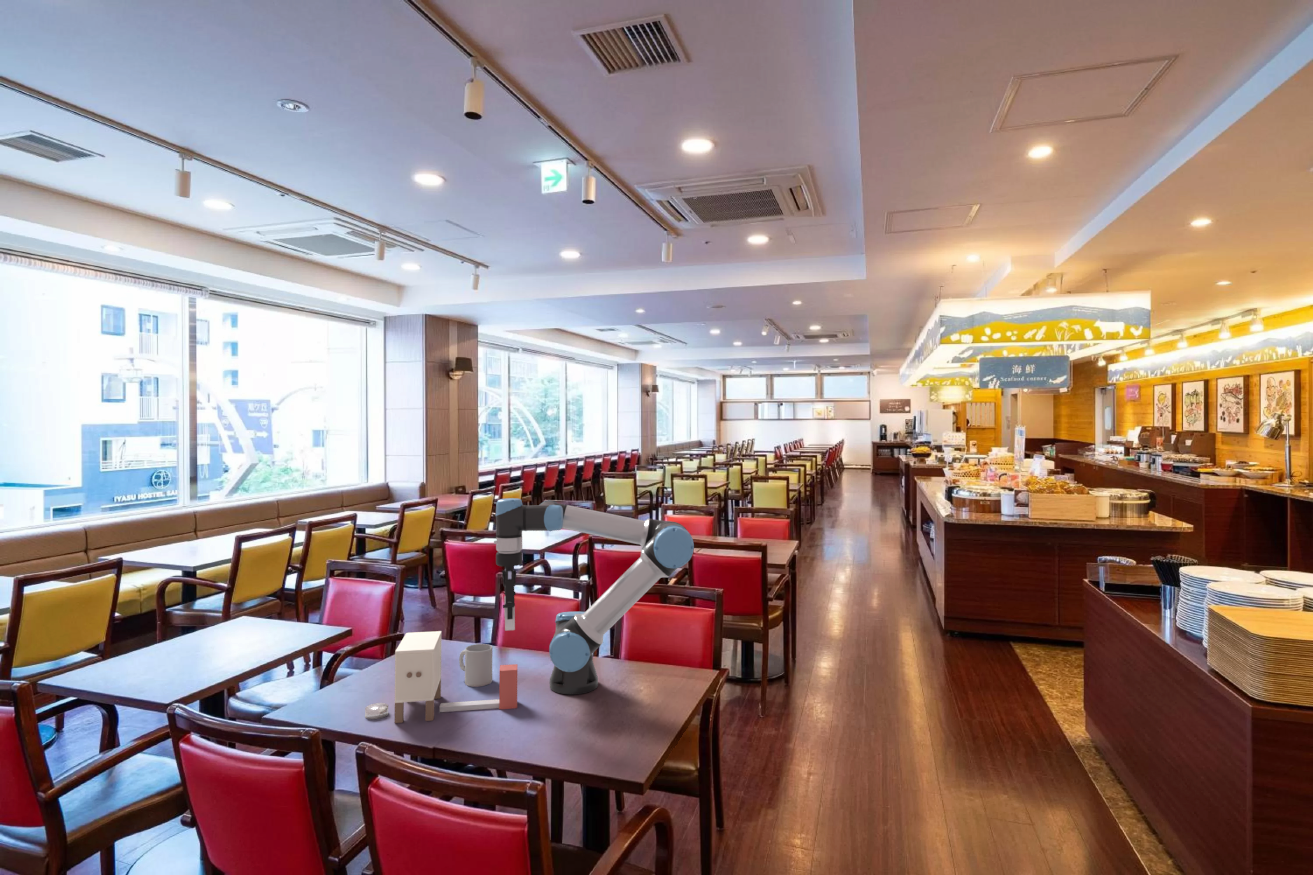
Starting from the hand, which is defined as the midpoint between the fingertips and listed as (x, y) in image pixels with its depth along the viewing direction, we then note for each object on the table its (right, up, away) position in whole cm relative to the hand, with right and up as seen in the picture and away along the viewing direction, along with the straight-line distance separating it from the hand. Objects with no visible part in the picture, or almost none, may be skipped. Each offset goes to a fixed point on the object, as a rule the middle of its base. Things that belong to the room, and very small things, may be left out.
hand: (509, 623), depth 195 cm
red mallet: (-8, -23, -3) cm, 25 cm away
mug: (-15, -23, +18) cm, 33 cm away
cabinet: (-25, -23, -5) cm, 34 cm away
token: (-35, -23, -9) cm, 43 cm away
